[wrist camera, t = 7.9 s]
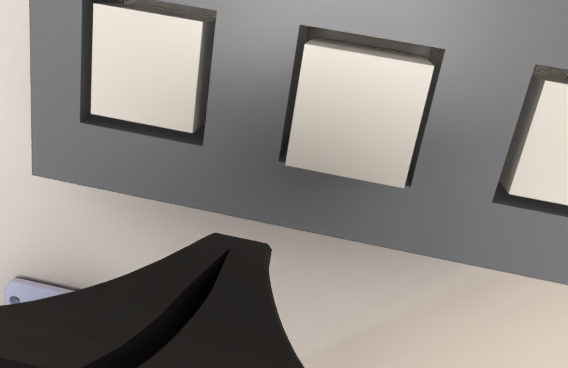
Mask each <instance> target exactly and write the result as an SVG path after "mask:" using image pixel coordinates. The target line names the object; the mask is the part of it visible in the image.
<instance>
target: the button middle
mask: <svg viewBox="0 0 568 368" xmlns="http://www.w3.org/2000/svg"><path fill="white" fill-rule="evenodd" d="M433 70H434V65H433V64H432V63H431V62H430V61H429V60H428V59H427V58H426V57H425V56H423V55H417V54H411V53H405V52H399V51H393V50H387V49H382V48H376V47H370V46H364V45H358V44H352V43H346V42H341V41H335V40H329V39H323V38H317V37H315V38H313V39H312V40H310V41H308V42H307V43H305V45H304V52H303V58H302V64H301V70H300V76H299V83H298V89H297V95H296V101H295V107H294V114H293V120H292V126H291V132H290V138H289V145H288V151H287V157H286V163H285V165H286V166H292V167H297V168H302V169H307V170H312V171H317V172H322V173H328V174H333V175H338V176H343V177H348V178H353V179H358V180H364V181H369V182H374V183H379V184H384V185H389V186H394V187H400V188H404V187H405V183H406V179H407V175H408V171H409V167H410V163H411V158H412V154H413V150H414V146H415V142H416V138H417V134H418V130H419V126H420V122H421V118H422V114H423V110H424V106H425V102H426V98H427V94H428V90H429V86H430V82H431V78H432V74H433Z"/></svg>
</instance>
